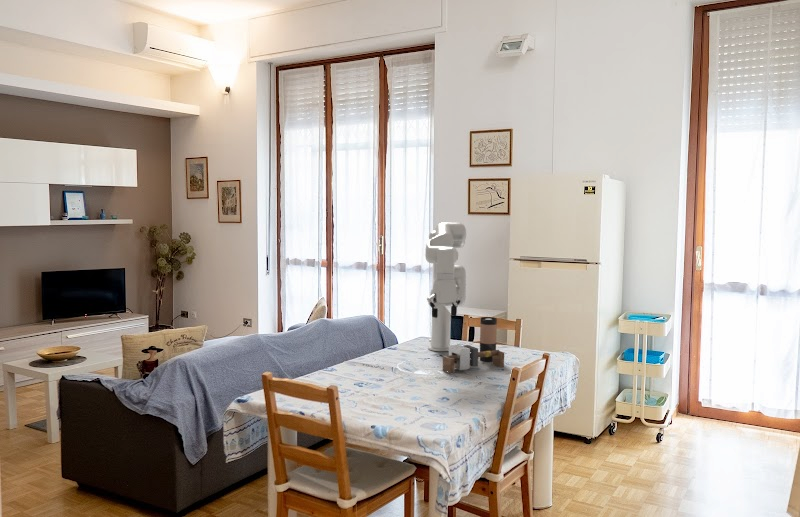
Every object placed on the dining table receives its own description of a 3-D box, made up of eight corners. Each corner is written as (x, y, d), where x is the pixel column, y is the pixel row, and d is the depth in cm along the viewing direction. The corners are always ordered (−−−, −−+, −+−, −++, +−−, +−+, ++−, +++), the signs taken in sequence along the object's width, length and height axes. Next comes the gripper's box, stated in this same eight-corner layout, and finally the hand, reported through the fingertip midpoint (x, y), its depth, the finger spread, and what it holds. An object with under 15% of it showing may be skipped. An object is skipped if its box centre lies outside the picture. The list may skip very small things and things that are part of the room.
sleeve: (459, 370, 290) (460, 349, 289) (448, 365, 298) (448, 345, 297) (469, 368, 293) (469, 348, 292) (457, 364, 300) (458, 344, 300)
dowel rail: (450, 373, 290) (450, 357, 289) (442, 370, 295) (442, 354, 294) (503, 366, 304) (504, 350, 303) (495, 363, 309) (496, 348, 308)
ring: (473, 367, 294) (473, 349, 293) (462, 363, 301) (463, 345, 300) (477, 366, 295) (478, 348, 295) (467, 362, 302) (467, 344, 302)
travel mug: (495, 358, 319) (496, 317, 317) (496, 362, 311) (497, 320, 309) (479, 358, 320) (480, 316, 318) (479, 362, 312) (480, 319, 310)
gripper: (456, 275, 295) (456, 313, 297) (423, 276, 287) (422, 316, 288) (466, 277, 289) (465, 316, 290) (432, 278, 280) (432, 319, 282)
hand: (444, 316), depth 289 cm, fingers open, 9 cm apart
